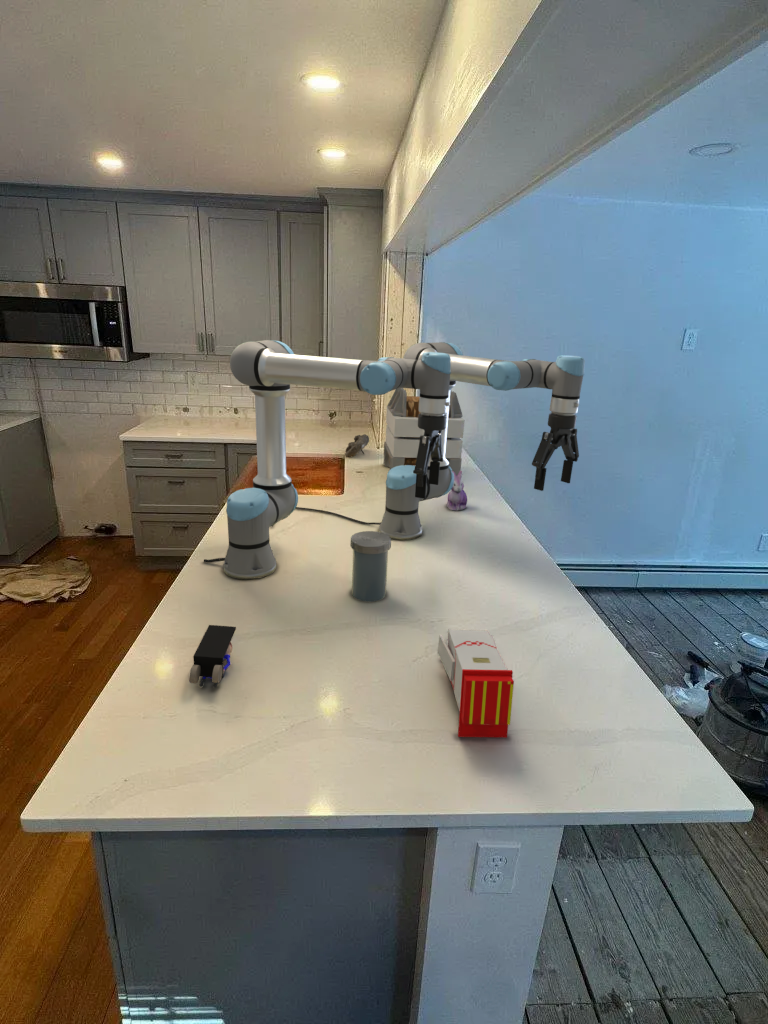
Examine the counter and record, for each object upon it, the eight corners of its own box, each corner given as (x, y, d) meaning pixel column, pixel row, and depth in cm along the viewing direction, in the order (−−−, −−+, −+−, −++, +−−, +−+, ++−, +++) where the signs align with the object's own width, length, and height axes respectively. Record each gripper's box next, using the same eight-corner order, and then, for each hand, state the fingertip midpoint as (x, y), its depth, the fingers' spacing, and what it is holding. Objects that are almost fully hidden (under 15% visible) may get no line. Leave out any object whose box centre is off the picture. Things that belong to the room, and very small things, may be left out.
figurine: (453, 512, 223) (457, 475, 218) (439, 504, 231) (442, 469, 226) (473, 509, 227) (477, 473, 222) (459, 501, 236) (462, 467, 231)
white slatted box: (382, 463, 289) (386, 382, 275) (445, 464, 293) (451, 384, 279) (390, 482, 257) (394, 392, 243) (460, 483, 261) (468, 394, 247)
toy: (488, 613, 130) (523, 677, 101) (484, 667, 133) (517, 744, 104) (435, 612, 130) (455, 676, 101) (432, 666, 133) (451, 743, 103)
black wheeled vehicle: (223, 699, 115) (239, 649, 128) (220, 670, 112) (236, 622, 125) (189, 698, 115) (209, 649, 128) (185, 669, 111) (206, 622, 125)
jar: (385, 586, 162) (388, 534, 157) (386, 602, 153) (388, 547, 148) (352, 585, 162) (353, 532, 156) (351, 601, 153) (352, 546, 147)
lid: (390, 538, 158) (390, 531, 157) (391, 554, 148) (391, 547, 147) (351, 537, 157) (351, 530, 157) (349, 553, 147) (350, 546, 146)
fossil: (345, 440, 315) (366, 425, 310) (356, 453, 318) (377, 439, 313) (338, 454, 296) (361, 438, 291) (350, 468, 298) (372, 452, 293)
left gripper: (434, 422, 137) (428, 505, 144) (457, 408, 159) (450, 480, 166) (404, 419, 139) (400, 501, 146) (431, 405, 161) (426, 477, 168)
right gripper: (548, 419, 148) (537, 496, 155) (598, 411, 163) (586, 482, 171) (525, 414, 153) (515, 489, 160) (575, 407, 169) (564, 476, 176)
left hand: (427, 490), depth 156 cm, fingers open, 13 cm apart
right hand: (552, 485), depth 166 cm, fingers open, 13 cm apart
